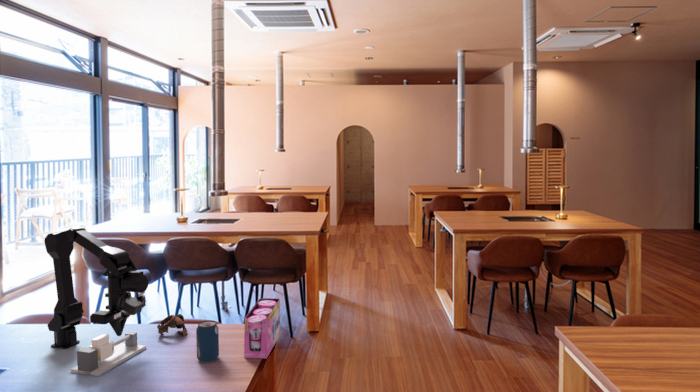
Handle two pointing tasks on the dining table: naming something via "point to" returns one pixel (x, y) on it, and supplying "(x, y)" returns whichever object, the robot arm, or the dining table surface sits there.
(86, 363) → the slider rail board
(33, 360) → the dining table surface
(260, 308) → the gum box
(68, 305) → the robot arm
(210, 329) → the soda can
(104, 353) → the white slider block
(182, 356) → the dining table surface
